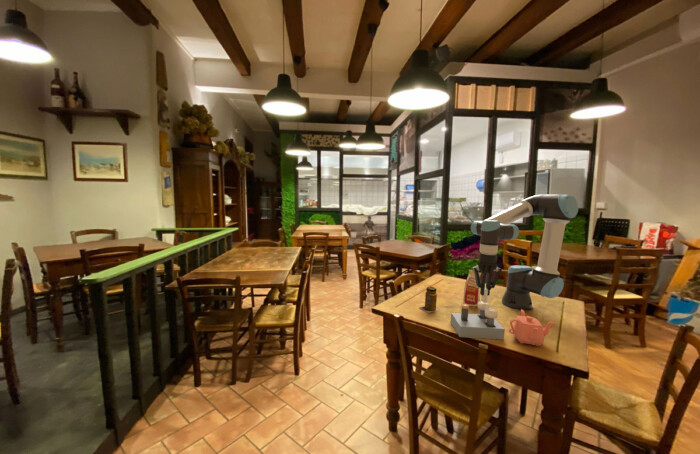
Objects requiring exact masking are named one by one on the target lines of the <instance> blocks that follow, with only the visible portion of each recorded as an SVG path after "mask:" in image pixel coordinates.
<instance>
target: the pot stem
mask: <svg viewBox="0 0 700 454" xmlns="http://www.w3.org/2000/svg"><path fill="white" fill-rule="evenodd" d="M460 308H461V310H460V311H461V312H460V313H461V320H462V321H468V314H469V310H470V306H469V305H467V304H463V303H461V306H460Z"/></svg>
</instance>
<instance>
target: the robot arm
mask: <svg viewBox="0 0 700 454" xmlns="http://www.w3.org/2000/svg"><path fill="white" fill-rule="evenodd" d="M578 212H579V203H578V200H577V198H576V197H575V196H573V195H572V194H564V193H560V194H559V193H557V194H556V193H555V194H553V193H551V194H550V193H547V194H546V193H545V194H543V193H542V194H535V195H533V196H529V197H527V198H524V199H522V200H519V201H518V202H517V203H516V204H515V205H514V206H511V207H509V208H507V209H504V210H503V211H501V212H498V213H497V214H494V215H493V216H490V217H488V218H486V219H484V220H483V219H482V220H474V221H472V223H471V225H470V231H471V233H472V234H473V235H476V236H479V237H480V240H479V241H480V242H479V254H478V262H477V264H476V265H475V266H472V267H471V270H472V271H474V274H475V280H476V285H477V286H478V287H479V288H480V289H479V295H481V301H482V302H483V303H488V297H489V296H490V292H491V290H492V289H495V287H496V284H497V281H498V279H499V276H500V273H501V272H502V271H503V269H502V268H501V267H499V266H498V264H497V261H498V252H499V251H498V249H499V241H511V240H515V239H516V238H518V237H519V233H520V229H519V226H517V225H516V224H514V222H516V221H518V220H520V219H522V218H528V217H531V216H542V220H543V221H544V227H543V233H542V237H541V238H542V239H541V244H540V249H539V255H538V260H537V265H536V266H535V267H534V268H533V267H532V266H530V265H529V266H528V265H516V264H515V265H510V266H509V267H508V270H507V277H506V278H507V279H506V288H505V289H506V290H505V292H504V293H503V296H502V298H501V303H502V304H503V305H504V306H507V307H509V308H513V309H516V310H521V309H522V310H524V311H525V310H531V309H532V308H533V303H532V302H533V301H532V298H531V293H532V294H536V295H539V296H540V297H542V298H543V297H544V298H548V299H554V298H556V297H558V296H559V295H561V293H562V291H563V289H564V286H565V285H564V279H562V278H561V277H560V276H561V273H560V272H559V270H558V267H559V261H560V256H561V250H562V246H563V240H564V235H565V229H566V225H567V224H569V223H571V219H573V218H576V216H577V215H578ZM479 270H480V272H479ZM479 273H481V275H480V278H479ZM481 301H480V302H481Z"/></svg>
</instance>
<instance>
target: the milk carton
mask: <svg viewBox="0 0 700 454" xmlns="http://www.w3.org/2000/svg"><path fill="white" fill-rule="evenodd" d="M479 278H480V279H481V272H479ZM462 300H463V301H462V304H467V305H469V307H477V308H478V302H481V301H480V288H479V287H478V286H477V285H476V280H475V274H474V270H473V269H468V274H467V278H466V281H465V284H464V288H463V299H462Z"/></svg>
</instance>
